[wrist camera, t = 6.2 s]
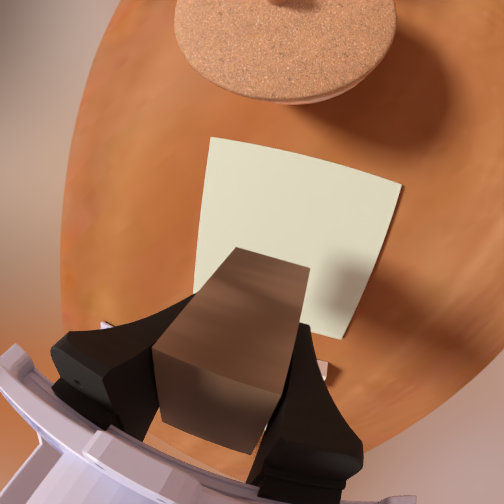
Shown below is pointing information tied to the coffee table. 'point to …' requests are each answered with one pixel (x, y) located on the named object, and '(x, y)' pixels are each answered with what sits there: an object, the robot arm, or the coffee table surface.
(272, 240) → the mat
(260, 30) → the lidded jar
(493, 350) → the coffee table surface
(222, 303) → the walnut block
